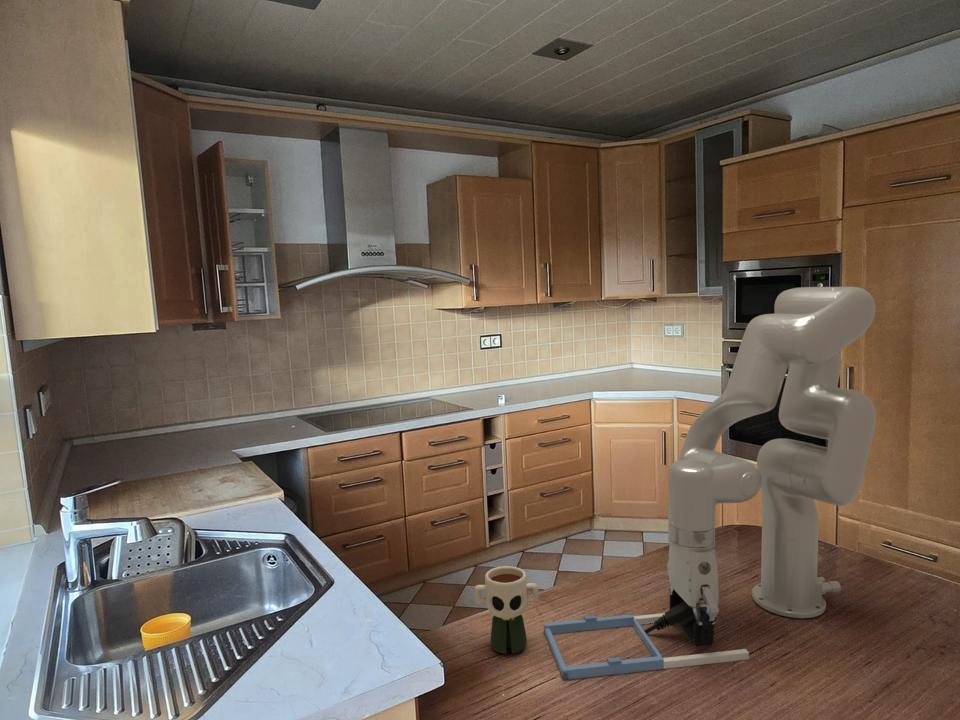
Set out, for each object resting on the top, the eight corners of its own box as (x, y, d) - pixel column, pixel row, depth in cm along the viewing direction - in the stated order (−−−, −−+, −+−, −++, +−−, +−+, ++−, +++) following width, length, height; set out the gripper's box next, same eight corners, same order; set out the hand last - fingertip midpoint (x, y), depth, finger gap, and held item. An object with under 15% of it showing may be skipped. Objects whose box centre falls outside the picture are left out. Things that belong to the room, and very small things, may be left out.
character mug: (476, 659, 103) (473, 584, 102) (478, 636, 110) (474, 566, 109) (541, 657, 103) (538, 582, 102) (539, 634, 110) (536, 564, 109)
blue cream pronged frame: (707, 614, 114) (707, 603, 114) (748, 659, 101) (748, 646, 100) (544, 631, 111) (543, 620, 111) (563, 680, 97) (563, 667, 97)
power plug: (640, 621, 112) (696, 589, 109) (665, 655, 111) (723, 624, 108) (640, 638, 106) (700, 605, 103) (667, 674, 106) (728, 642, 103)
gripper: (739, 553, 96) (737, 657, 98) (689, 514, 114) (688, 602, 115) (693, 557, 96) (692, 661, 97) (650, 516, 113) (650, 606, 115)
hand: (690, 629), depth 106 cm, fingers open, 8 cm apart
